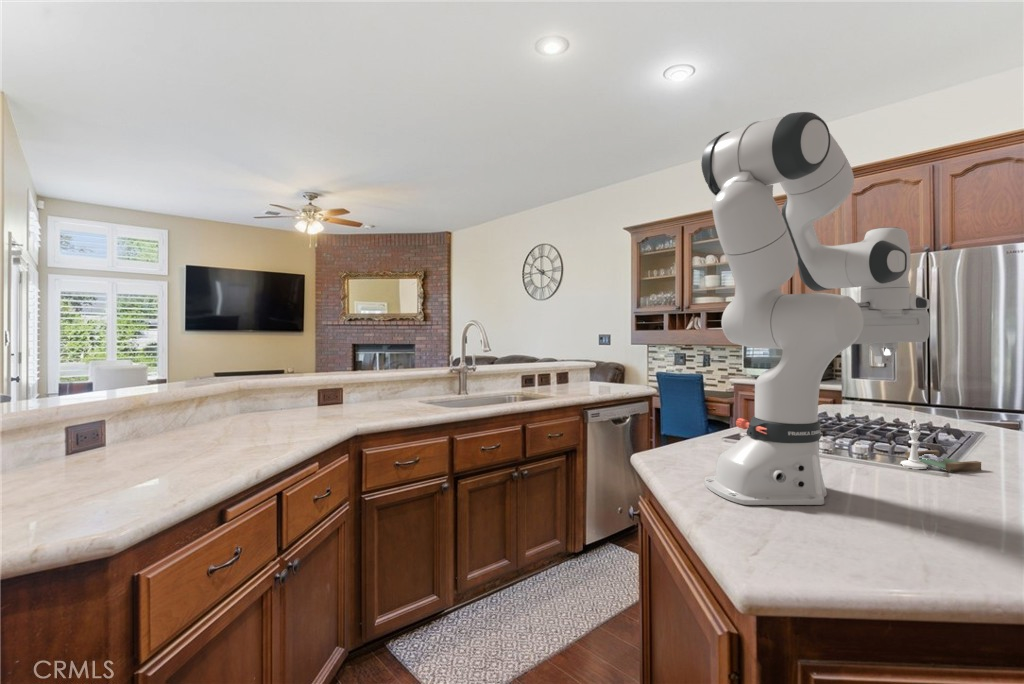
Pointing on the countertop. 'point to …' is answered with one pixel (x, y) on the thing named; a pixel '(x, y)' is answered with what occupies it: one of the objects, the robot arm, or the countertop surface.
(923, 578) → the countertop surface
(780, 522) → the countertop surface
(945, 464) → the cradle
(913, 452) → the chess piece
